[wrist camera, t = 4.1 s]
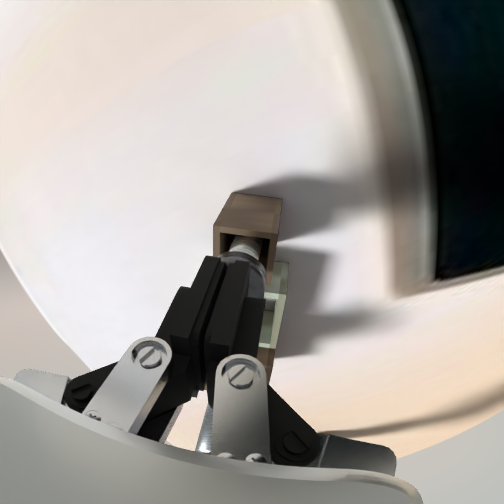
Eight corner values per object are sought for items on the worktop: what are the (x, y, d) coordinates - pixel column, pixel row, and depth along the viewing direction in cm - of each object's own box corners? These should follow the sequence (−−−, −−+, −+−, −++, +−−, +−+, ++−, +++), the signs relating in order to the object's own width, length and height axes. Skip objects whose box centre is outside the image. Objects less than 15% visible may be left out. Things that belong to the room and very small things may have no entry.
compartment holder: (299, 201, 16) (298, 236, 12) (270, 359, 23) (265, 400, 20) (215, 190, 16) (193, 223, 13) (215, 350, 24) (204, 389, 20)
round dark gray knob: (278, 204, 16) (267, 270, 11) (273, 243, 17) (261, 317, 12) (233, 199, 16) (202, 261, 11) (231, 237, 17) (203, 308, 12)
